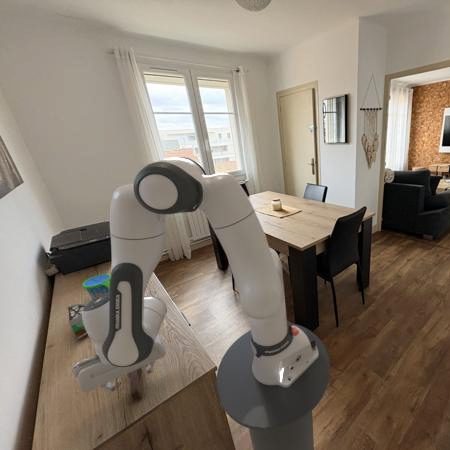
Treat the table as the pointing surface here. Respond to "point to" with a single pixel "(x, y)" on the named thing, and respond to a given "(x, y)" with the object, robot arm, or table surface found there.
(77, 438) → the table surface
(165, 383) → the table surface
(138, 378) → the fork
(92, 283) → the snack cup
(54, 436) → the table surface
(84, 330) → the food container
